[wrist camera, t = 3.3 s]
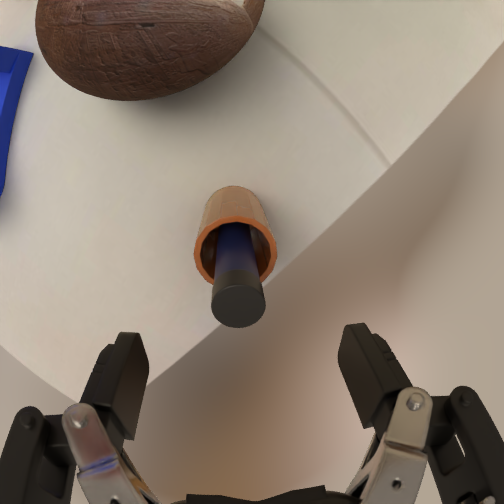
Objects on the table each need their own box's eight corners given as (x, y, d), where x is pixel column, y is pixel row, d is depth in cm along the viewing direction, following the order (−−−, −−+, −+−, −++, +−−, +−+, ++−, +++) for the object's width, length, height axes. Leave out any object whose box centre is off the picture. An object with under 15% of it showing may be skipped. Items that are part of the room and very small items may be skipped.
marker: (214, 210, 25) (200, 300, 12) (238, 196, 25) (248, 275, 12) (228, 232, 26) (230, 335, 13) (252, 219, 26) (275, 314, 13)
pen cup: (194, 204, 25) (177, 243, 17) (243, 175, 24) (250, 200, 16) (224, 248, 27) (223, 303, 19) (271, 222, 27) (290, 267, 18)
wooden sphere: (252, 105, 22) (284, 72, 8) (90, 116, 21) (-28, 126, 7) (257, -30, 16) (283, -129, 2) (105, -14, 14) (31, -78, 1)
